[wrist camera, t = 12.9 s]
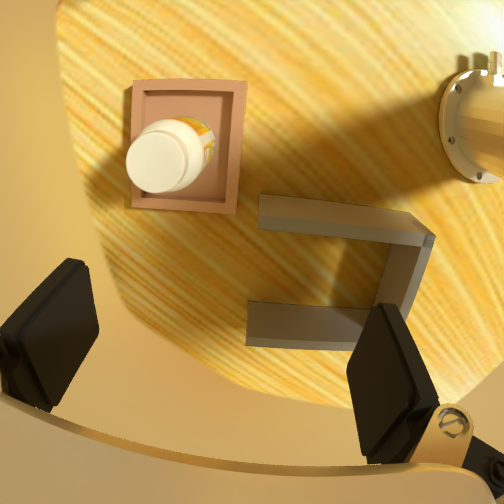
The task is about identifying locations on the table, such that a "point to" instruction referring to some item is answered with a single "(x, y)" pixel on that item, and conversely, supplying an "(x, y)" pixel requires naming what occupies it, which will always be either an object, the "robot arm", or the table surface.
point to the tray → (220, 122)
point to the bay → (344, 226)
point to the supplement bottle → (170, 154)
